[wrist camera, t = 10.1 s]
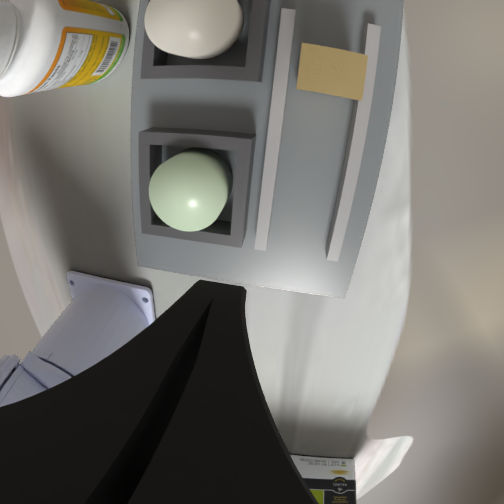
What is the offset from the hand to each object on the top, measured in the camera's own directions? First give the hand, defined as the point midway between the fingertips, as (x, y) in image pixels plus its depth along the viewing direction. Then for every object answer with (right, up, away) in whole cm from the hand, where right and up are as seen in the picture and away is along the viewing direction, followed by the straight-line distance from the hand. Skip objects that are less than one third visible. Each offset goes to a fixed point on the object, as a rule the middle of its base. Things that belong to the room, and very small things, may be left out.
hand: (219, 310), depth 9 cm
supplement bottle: (-9, +15, +5) cm, 18 cm away
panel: (+1, +9, +7) cm, 11 cm away
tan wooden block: (+4, +9, +3) cm, 11 cm away
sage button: (-2, +5, +7) cm, 9 cm away
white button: (-1, +12, +2) cm, 12 cm away
